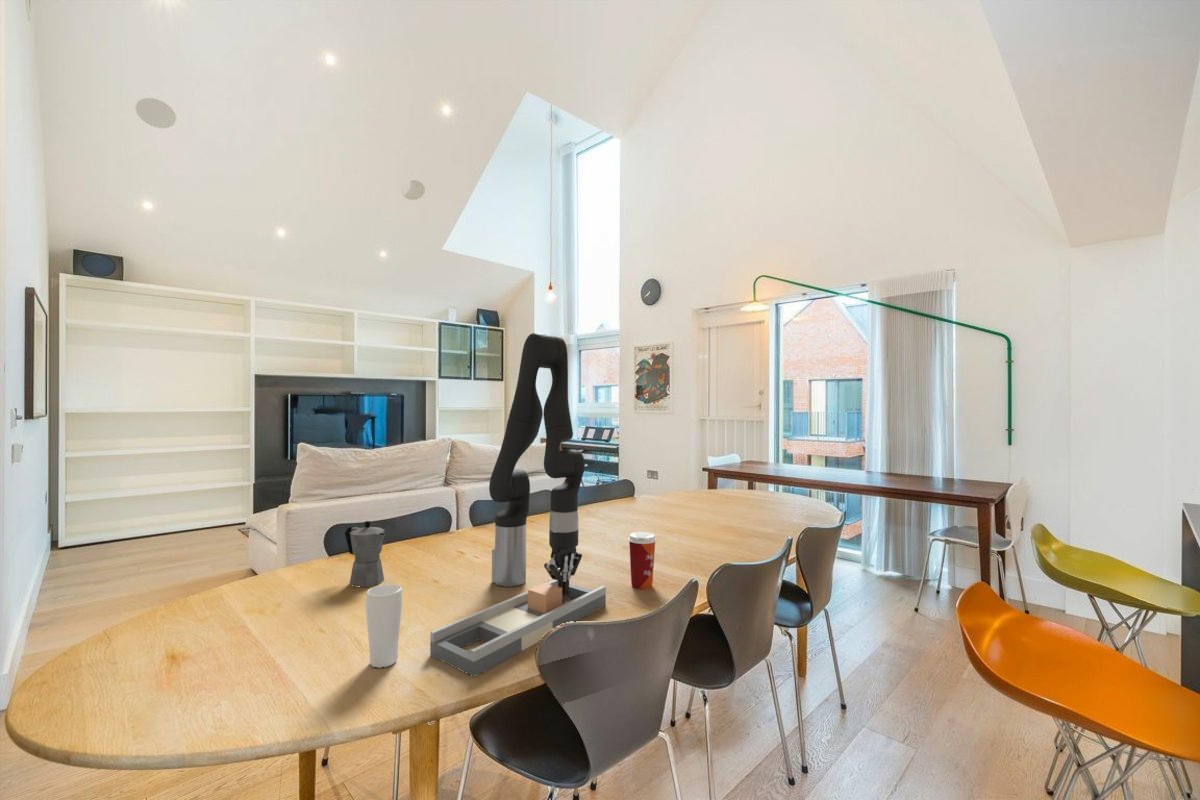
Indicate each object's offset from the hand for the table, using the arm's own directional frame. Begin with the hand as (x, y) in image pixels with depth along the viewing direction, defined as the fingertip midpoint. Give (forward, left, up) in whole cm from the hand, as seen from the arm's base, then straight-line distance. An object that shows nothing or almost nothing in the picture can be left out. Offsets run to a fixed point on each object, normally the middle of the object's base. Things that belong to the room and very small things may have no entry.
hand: (563, 594), depth 133 cm
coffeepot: (-62, -10, -4) cm, 63 cm away
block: (-1, -7, -1) cm, 7 cm away
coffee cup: (+12, +25, -4) cm, 28 cm away
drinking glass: (-19, -40, -4) cm, 44 cm away
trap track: (-2, -13, -4) cm, 14 cm away
